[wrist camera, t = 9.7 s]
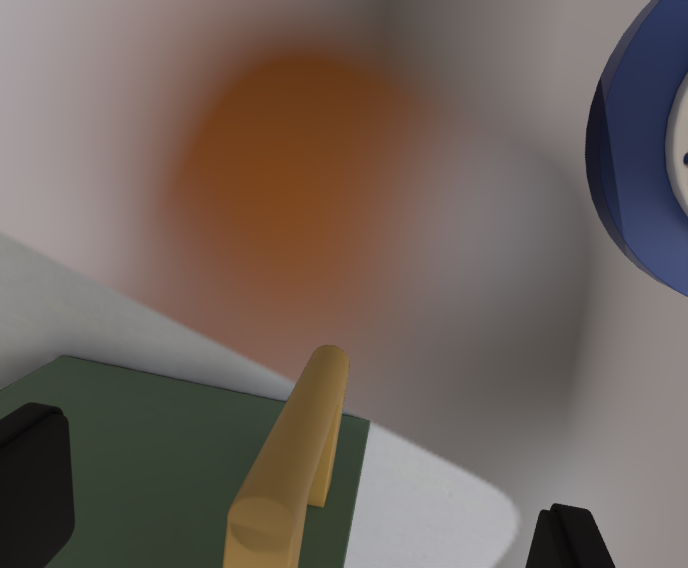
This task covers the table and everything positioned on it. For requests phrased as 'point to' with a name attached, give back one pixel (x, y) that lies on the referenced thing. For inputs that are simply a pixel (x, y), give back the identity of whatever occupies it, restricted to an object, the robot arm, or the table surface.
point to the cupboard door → (203, 467)
